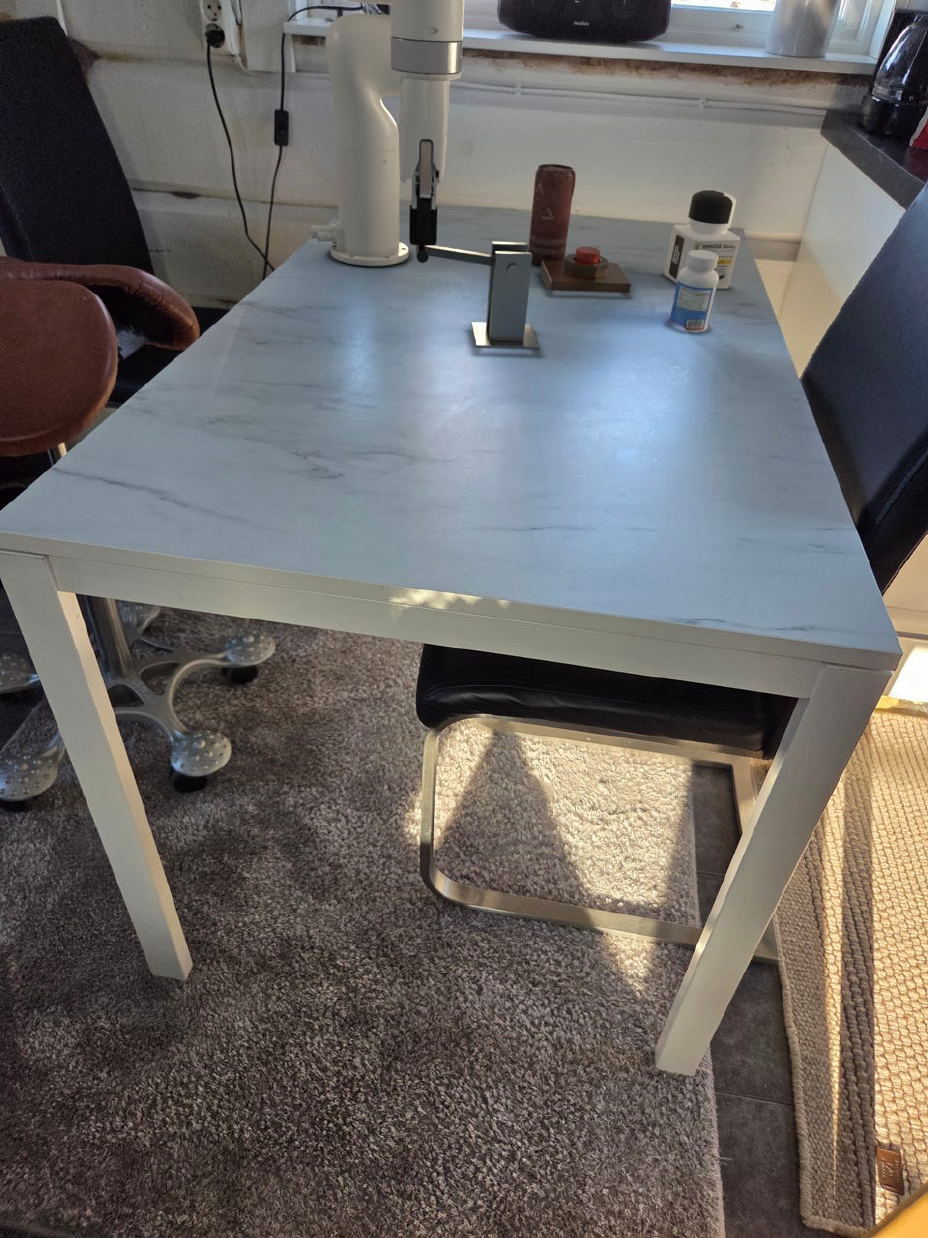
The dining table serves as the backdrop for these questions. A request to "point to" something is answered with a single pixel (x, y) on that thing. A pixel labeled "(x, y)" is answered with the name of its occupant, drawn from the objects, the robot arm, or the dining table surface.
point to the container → (705, 235)
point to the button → (587, 255)
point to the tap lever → (454, 254)
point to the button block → (584, 276)
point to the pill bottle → (695, 291)
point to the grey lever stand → (507, 300)
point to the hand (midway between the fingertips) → (422, 242)
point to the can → (551, 212)
